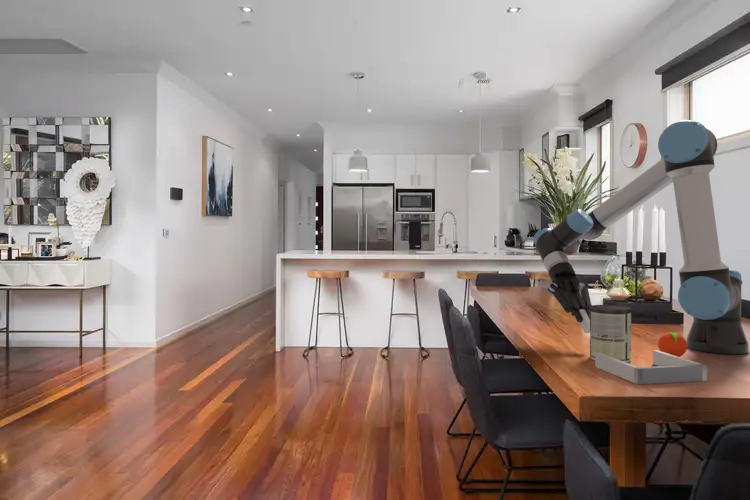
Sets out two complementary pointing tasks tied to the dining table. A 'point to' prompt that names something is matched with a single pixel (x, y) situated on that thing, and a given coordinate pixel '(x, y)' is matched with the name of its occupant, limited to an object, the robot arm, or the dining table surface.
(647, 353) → the dining table surface
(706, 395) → the dining table surface
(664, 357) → the bay
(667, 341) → the tomato
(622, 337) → the coffee can
